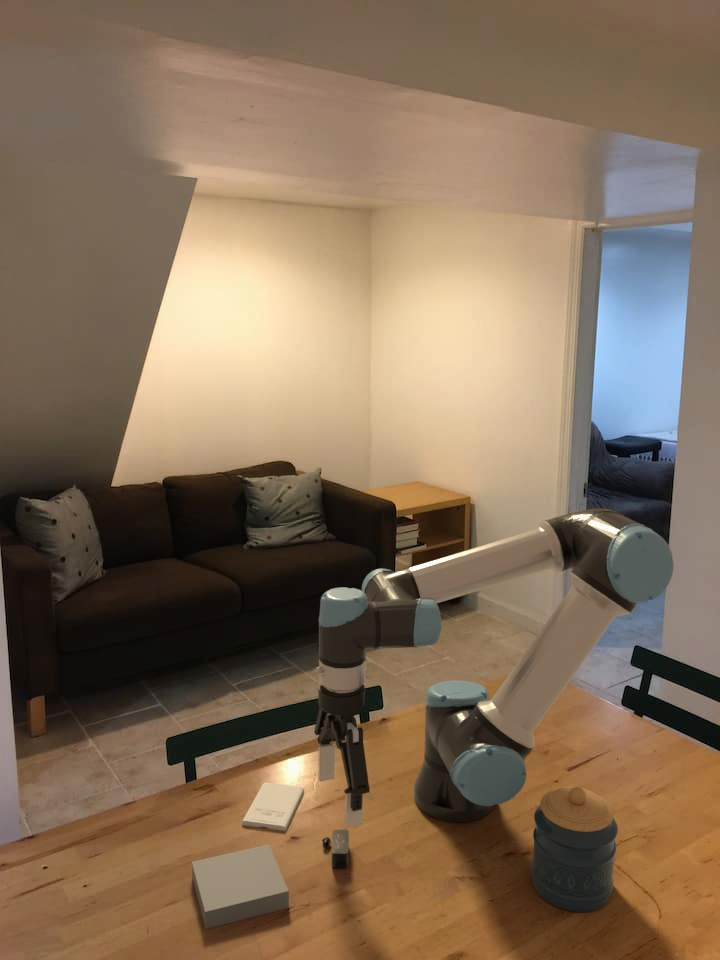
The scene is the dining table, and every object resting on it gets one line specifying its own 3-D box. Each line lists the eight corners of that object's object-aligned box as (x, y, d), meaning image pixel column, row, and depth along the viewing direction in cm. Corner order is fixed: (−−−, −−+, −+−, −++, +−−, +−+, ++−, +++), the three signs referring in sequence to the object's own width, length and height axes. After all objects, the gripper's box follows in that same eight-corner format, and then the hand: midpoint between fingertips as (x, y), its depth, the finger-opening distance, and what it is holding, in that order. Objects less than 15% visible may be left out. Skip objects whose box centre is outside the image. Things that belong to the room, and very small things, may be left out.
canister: (599, 926, 125) (607, 823, 121) (518, 894, 132) (524, 795, 128) (621, 877, 136) (630, 781, 132) (546, 849, 142) (552, 757, 139)
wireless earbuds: (348, 843, 144) (349, 826, 143) (348, 870, 137) (348, 853, 136) (322, 842, 144) (322, 826, 143) (320, 870, 137) (320, 853, 136)
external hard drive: (304, 794, 159) (285, 834, 147) (263, 789, 160) (242, 827, 149) (304, 787, 159) (285, 825, 147) (263, 781, 160) (241, 819, 148)
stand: (269, 859, 139) (269, 844, 139) (288, 907, 128) (288, 890, 128) (192, 877, 135) (191, 861, 134) (205, 929, 124) (205, 911, 123)
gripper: (297, 655, 143) (296, 766, 147) (346, 723, 120) (343, 851, 124) (338, 650, 145) (336, 758, 150) (393, 715, 123) (389, 841, 127)
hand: (339, 801), depth 137 cm, fingers open, 13 cm apart
